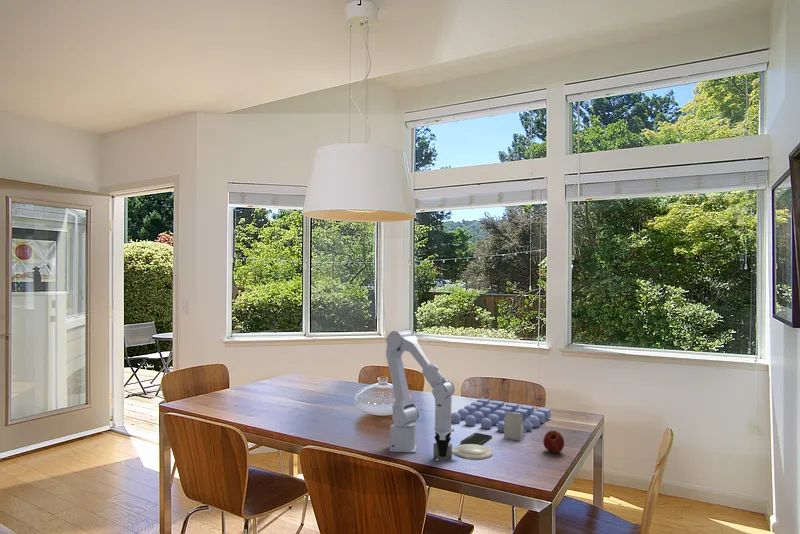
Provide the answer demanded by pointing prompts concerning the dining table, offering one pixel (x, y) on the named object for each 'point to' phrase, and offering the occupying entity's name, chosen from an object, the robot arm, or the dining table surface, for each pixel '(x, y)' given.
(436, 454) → the connector
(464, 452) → the plate
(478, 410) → the blocks
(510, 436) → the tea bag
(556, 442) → the apple
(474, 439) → the phone
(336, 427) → the dining table surface
